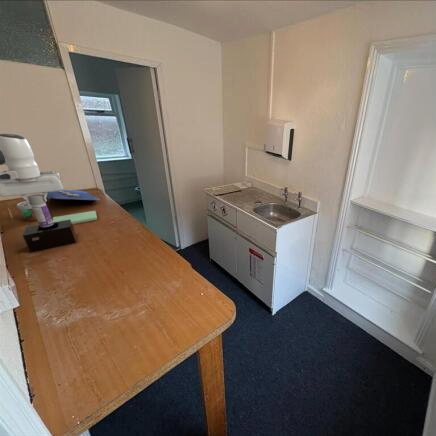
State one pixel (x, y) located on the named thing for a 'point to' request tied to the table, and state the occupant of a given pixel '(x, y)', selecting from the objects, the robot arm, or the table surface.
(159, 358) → the table surface
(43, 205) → the container
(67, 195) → the blue sloped panel
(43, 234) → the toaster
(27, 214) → the food container
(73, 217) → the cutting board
